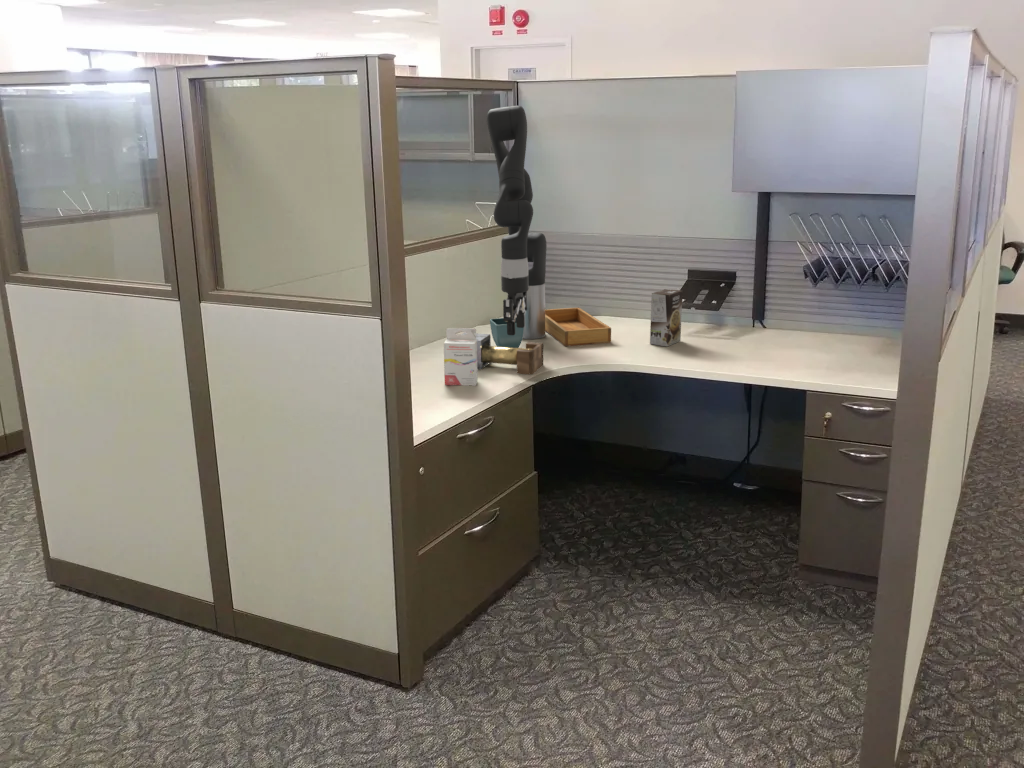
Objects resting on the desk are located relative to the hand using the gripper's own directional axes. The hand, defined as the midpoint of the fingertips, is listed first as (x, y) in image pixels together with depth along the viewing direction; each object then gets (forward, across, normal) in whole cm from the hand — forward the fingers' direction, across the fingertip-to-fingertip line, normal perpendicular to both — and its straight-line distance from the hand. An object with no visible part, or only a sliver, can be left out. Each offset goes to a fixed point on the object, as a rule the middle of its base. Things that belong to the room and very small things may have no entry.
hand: (516, 331), depth 256 cm
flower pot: (+11, -20, -9) cm, 24 cm away
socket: (+11, +1, +4) cm, 12 cm away
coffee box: (+12, -40, +36) cm, 55 cm away
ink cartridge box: (+11, +18, -10) cm, 23 cm away
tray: (+12, -44, +5) cm, 46 cm away
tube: (+11, 0, -3) cm, 11 cm away
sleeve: (+11, 0, -13) cm, 17 cm away
